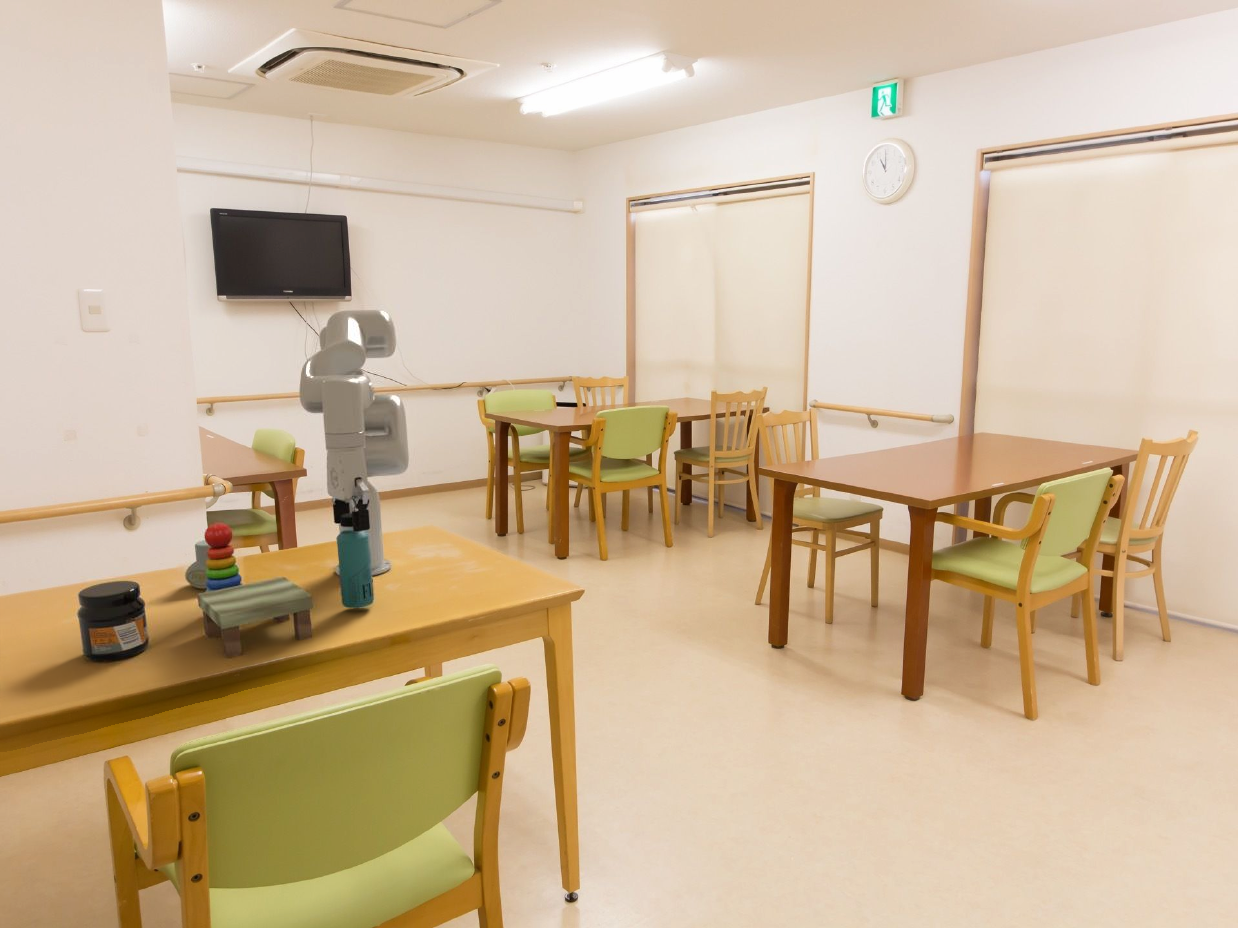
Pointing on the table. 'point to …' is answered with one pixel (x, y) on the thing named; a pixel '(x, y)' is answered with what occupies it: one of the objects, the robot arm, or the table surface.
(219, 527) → the stacking toy
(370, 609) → the table surface
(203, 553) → the grey flask
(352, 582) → the beverage bottle
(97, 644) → the supplement container
